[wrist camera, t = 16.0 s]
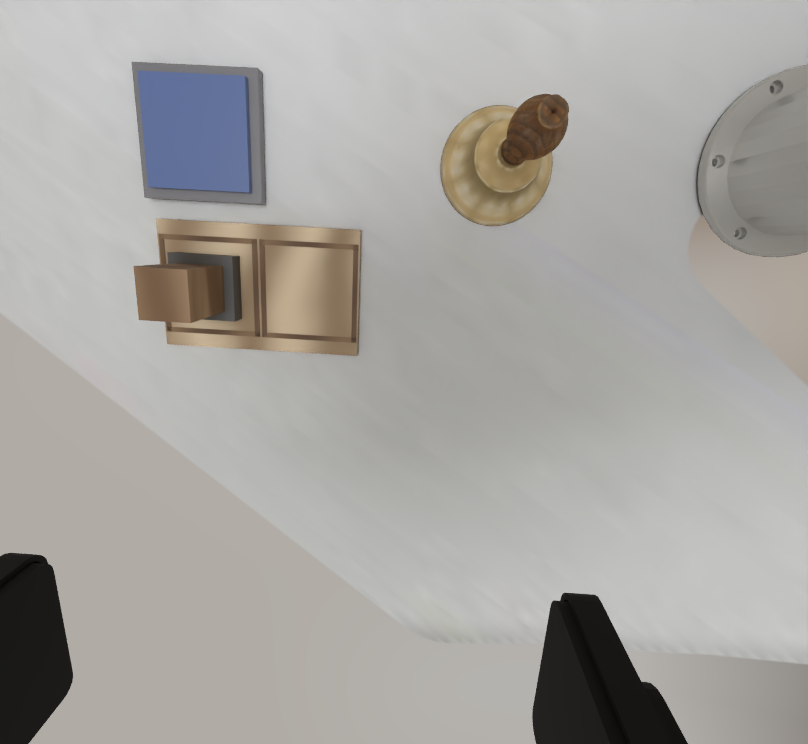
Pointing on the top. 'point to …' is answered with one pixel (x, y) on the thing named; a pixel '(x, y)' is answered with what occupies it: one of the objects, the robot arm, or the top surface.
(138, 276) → the stamp
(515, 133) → the hand bell
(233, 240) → the board
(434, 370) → the top surface
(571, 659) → the robot arm
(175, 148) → the ink pad
